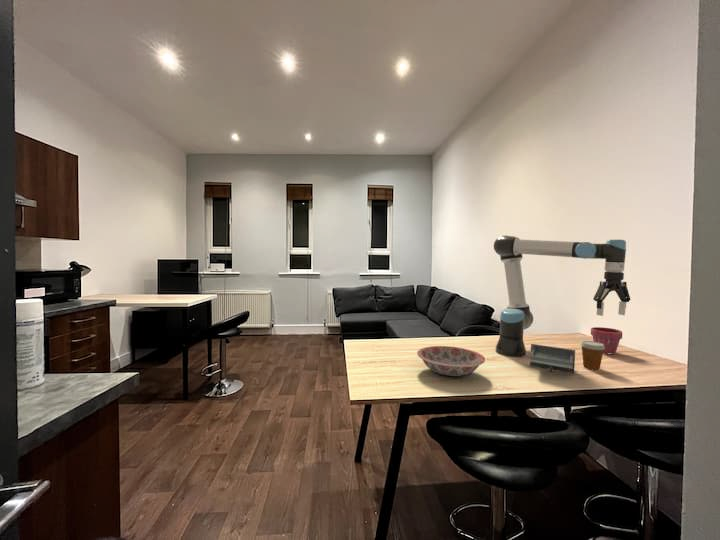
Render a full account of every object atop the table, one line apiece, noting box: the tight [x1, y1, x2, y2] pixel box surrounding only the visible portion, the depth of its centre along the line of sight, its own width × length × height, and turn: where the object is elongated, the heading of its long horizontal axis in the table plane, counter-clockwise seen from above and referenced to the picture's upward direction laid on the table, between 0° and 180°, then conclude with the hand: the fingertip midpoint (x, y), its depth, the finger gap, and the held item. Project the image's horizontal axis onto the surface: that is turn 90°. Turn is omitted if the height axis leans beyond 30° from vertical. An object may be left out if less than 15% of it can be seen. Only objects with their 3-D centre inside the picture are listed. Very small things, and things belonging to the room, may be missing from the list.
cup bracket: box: [529, 343, 576, 374], centre depth 151 cm, size 18×20×10 cm
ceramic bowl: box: [416, 345, 486, 377], centre depth 148 cm, size 29×29×8 cm
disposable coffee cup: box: [580, 340, 605, 371], centre depth 158 cm, size 10×10×12 cm
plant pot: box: [590, 326, 623, 354], centre depth 185 cm, size 14×14×13 cm
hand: (610, 315), depth 161 cm, fingers open, 13 cm apart
